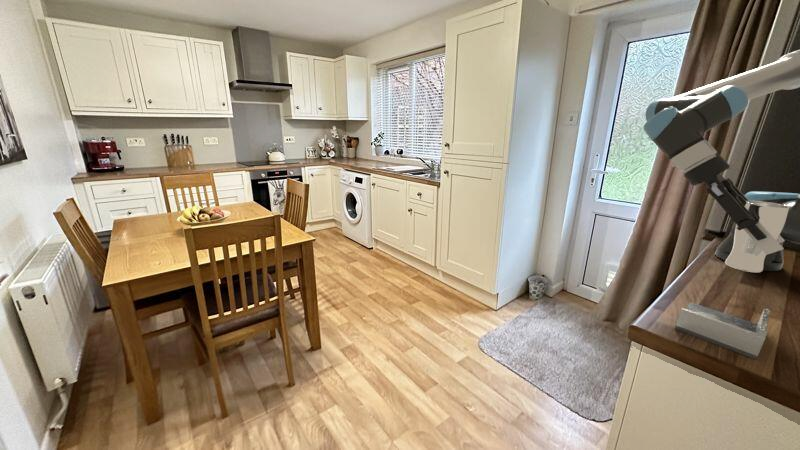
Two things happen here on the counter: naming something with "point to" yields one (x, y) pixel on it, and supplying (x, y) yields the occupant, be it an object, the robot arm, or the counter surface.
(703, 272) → the counter surface
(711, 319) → the tray
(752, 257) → the beer glass
